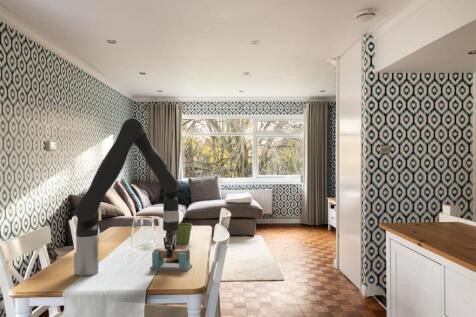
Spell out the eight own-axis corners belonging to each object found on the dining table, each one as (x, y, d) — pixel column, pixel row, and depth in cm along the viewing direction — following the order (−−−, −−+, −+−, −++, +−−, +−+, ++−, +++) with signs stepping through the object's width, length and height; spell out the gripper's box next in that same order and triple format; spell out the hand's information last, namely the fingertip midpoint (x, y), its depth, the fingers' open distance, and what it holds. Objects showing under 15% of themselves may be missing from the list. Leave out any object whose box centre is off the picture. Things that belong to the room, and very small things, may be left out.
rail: (153, 258, 170) (153, 250, 170) (156, 255, 174) (156, 248, 174) (186, 259, 168) (186, 251, 168) (188, 257, 172) (188, 249, 172)
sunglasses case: (169, 254, 195) (175, 243, 195) (180, 260, 195) (186, 250, 195) (163, 264, 177) (170, 252, 177) (176, 271, 177) (183, 259, 177)
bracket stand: (149, 269, 168) (149, 252, 168) (156, 264, 176) (156, 248, 176) (187, 271, 166) (186, 254, 166) (192, 266, 173) (192, 249, 173)
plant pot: (194, 241, 225) (194, 223, 225) (190, 245, 213) (190, 226, 213) (176, 240, 226) (175, 222, 226) (170, 245, 215) (170, 226, 215)
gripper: (168, 217, 179) (168, 251, 179) (157, 222, 164) (157, 260, 165) (183, 217, 177) (183, 252, 177) (173, 222, 163) (173, 260, 163)
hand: (171, 255), depth 171 cm, fingers open, 4 cm apart
